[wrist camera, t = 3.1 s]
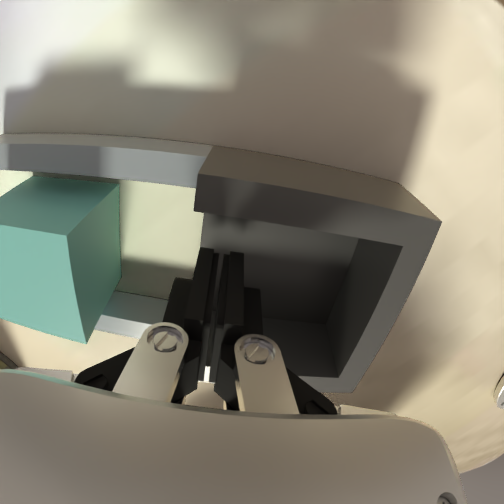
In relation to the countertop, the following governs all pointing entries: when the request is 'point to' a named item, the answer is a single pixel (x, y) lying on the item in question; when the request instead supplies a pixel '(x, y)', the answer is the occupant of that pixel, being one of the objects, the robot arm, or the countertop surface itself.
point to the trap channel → (270, 241)
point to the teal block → (59, 254)
